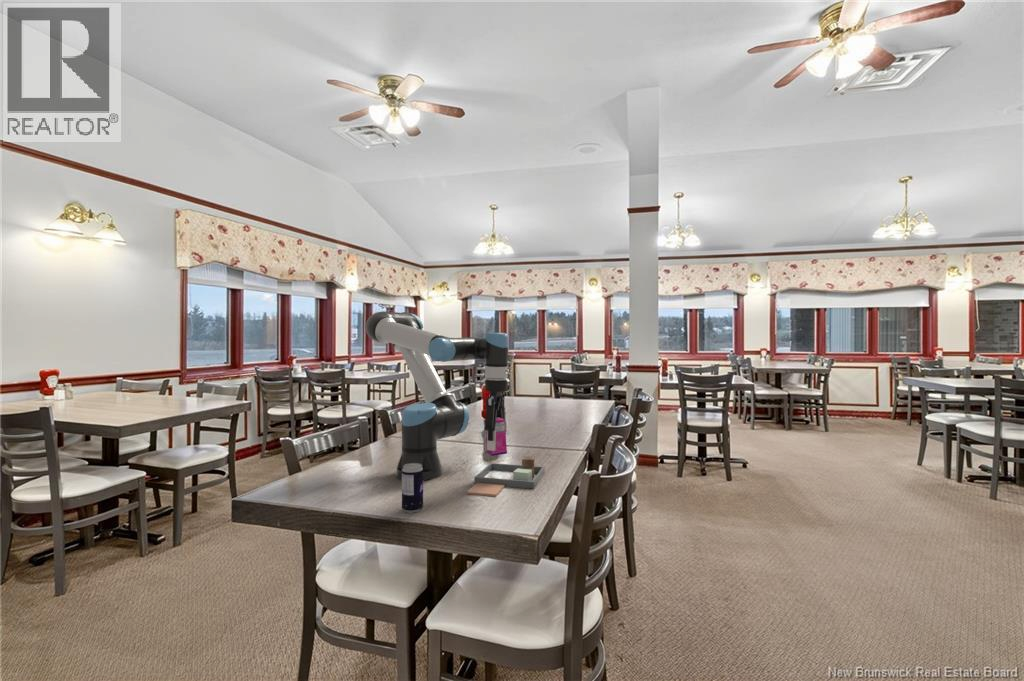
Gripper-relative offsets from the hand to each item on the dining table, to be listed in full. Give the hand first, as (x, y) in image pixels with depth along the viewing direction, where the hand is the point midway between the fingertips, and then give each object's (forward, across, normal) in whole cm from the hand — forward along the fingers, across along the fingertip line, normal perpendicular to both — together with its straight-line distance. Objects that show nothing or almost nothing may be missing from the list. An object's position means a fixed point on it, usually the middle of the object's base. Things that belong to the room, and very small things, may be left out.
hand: (494, 447), depth 156 cm
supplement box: (+2, 0, 0) cm, 2 cm away
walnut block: (+10, +4, -11) cm, 15 cm away
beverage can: (+10, -34, +12) cm, 38 cm away
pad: (+10, -14, -2) cm, 17 cm away
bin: (+10, 0, -6) cm, 11 cm away
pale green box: (+10, -4, -11) cm, 15 cm away
